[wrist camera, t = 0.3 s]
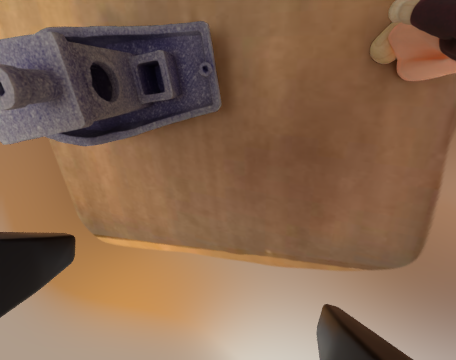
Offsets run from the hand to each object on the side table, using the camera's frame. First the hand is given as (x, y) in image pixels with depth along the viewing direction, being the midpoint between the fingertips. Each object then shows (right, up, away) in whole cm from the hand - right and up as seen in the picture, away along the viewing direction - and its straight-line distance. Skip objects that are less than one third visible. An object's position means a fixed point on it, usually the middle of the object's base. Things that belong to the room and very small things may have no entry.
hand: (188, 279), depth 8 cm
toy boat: (-6, +12, +14) cm, 19 cm away
